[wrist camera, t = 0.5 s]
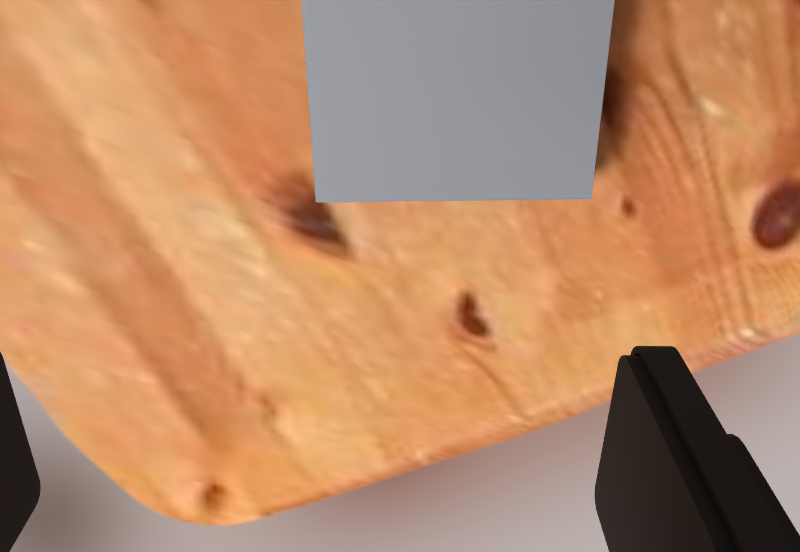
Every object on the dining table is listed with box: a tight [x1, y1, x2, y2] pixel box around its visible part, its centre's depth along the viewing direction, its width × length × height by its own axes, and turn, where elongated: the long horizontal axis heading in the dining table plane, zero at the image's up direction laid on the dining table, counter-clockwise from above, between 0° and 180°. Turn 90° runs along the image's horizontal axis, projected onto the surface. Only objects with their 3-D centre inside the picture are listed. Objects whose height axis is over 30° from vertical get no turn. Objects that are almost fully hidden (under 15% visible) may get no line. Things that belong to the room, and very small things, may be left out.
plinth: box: [301, 0, 615, 202], centre depth 35 cm, size 14×14×3 cm
